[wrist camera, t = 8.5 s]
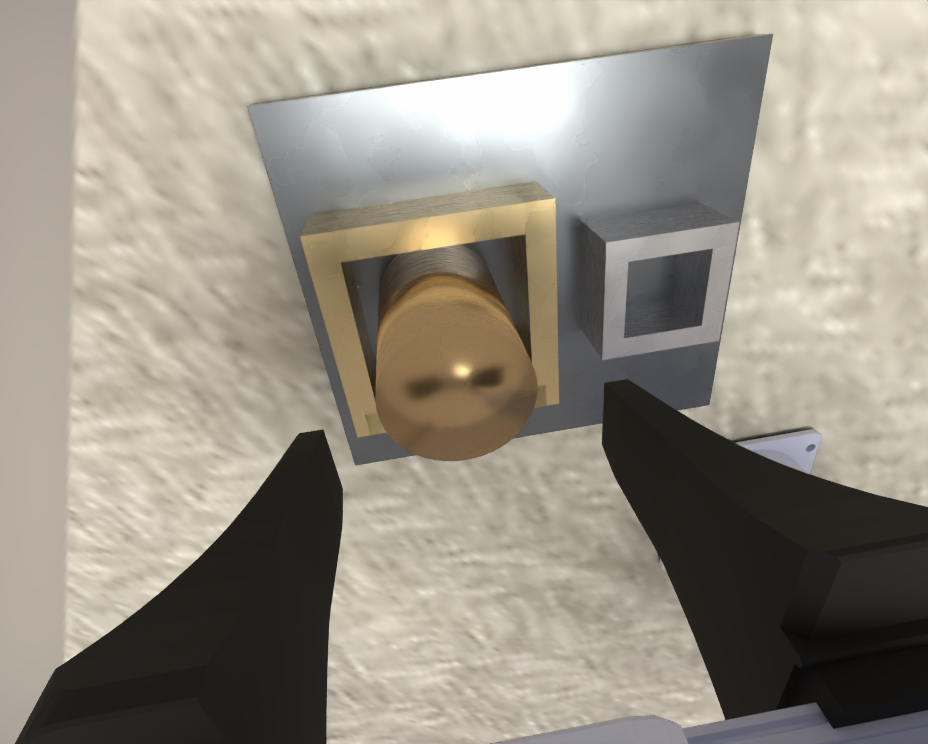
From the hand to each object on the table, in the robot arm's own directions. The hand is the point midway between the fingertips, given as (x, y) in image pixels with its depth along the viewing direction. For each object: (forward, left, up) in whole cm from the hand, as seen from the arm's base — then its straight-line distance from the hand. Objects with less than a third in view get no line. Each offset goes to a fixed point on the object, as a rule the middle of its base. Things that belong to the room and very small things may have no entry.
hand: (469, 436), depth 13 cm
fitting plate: (0, -3, -9) cm, 10 cm away
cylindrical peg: (0, 0, -8) cm, 8 cm away
